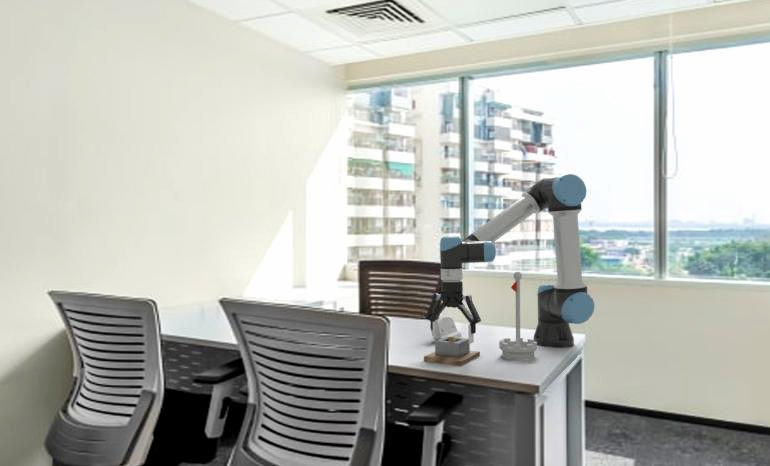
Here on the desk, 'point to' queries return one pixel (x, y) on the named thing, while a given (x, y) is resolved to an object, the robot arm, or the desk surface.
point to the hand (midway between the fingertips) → (453, 341)
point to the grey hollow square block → (452, 347)
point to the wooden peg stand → (450, 360)
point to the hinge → (446, 328)
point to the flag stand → (517, 334)
